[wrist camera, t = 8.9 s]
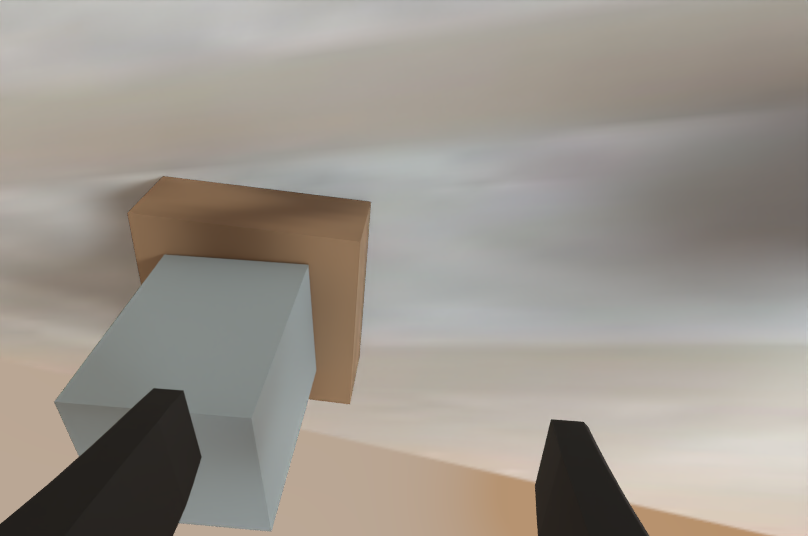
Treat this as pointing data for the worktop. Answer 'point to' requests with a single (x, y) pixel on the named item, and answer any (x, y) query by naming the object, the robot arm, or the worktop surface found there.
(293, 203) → the walnut plinth
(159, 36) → the worktop surface
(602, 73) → the worktop surface
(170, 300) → the slate block
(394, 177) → the worktop surface
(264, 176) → the worktop surface
